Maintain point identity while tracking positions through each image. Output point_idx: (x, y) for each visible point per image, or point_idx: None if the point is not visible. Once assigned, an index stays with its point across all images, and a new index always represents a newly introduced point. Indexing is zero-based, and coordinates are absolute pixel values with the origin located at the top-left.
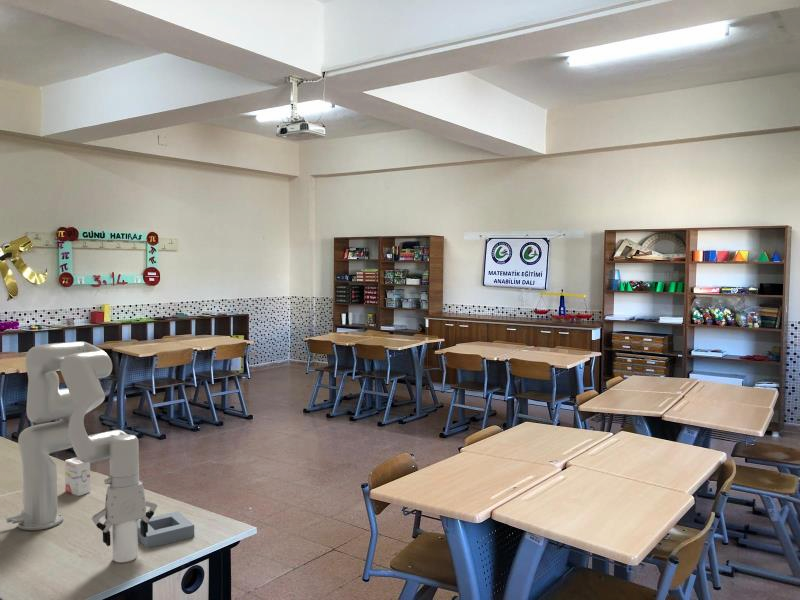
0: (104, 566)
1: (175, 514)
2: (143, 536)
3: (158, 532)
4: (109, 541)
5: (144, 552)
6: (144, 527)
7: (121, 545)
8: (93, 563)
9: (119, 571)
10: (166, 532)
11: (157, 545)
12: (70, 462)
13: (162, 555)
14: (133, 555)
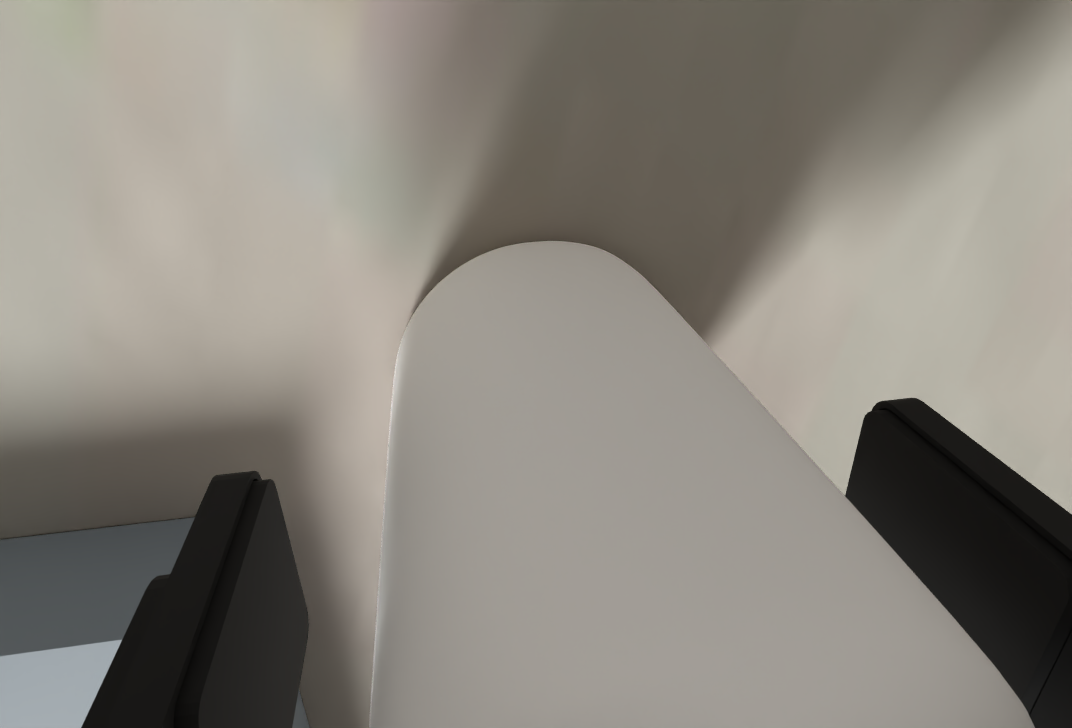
0: (790, 280)
1: None
2: (272, 486)
3: (27, 686)
4: (941, 436)
5: (299, 418)
6: (194, 628)
7: (704, 350)
8: (838, 411)
9: (713, 13)
10: None
11: (118, 526)
12: None
13: (55, 203)
14: (474, 275)
